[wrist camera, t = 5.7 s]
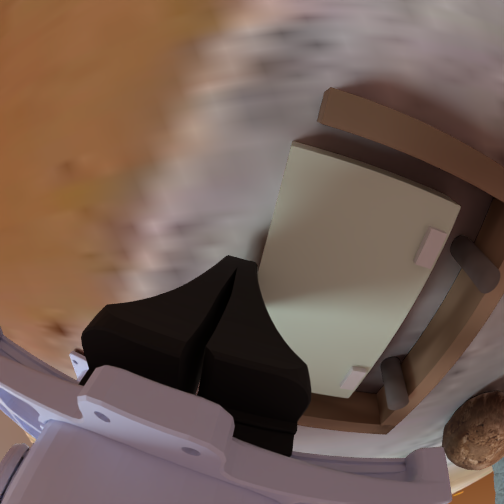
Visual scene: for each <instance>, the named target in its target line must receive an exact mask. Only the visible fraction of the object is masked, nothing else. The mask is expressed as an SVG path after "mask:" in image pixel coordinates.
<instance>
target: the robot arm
mask: <svg viewBox="0 0 504 504" xmlns="http://www.w3.org/2000/svg"><path fill="white" fill-rule="evenodd" d="M81 340H82V346H83V350H84V354H85V356H83V355H81V354H79V353H77V352H75V351H72V352H71V353H70V358H71V361H72V364H73V367H74V369H75V372H76V375H77V378H78V379H77V380H75V379H73V378H71V377H69V376H67V375H66V374H64V373H62V372H60V371H58V370H57V369H55V368H53V367H52V366H50V365H48V364H47V363H45V362H43V361H42V360H40V359H38V358H37V357H35V356H34V355H32V354H30V353H29V352H27V351H26V350H24V349H23V348H21V347H20V346H18V345H17V344H15V343H14V342H13V341H11V340H10V339H8V338H7V337H6V336H4V335H3V332H2V329H1V327H0V409H1V410H2V411H3V412H4V413H5V414H6V415H7V416H8V417H10V418H11V419H12V420H13V421H14V422H15V423H17V424H18V425H19V426H20V427H21V428H23V429H24V430H25V431H26V432H28V433H29V434H30V435H31V436H33V437H34V438H35V439H37V440H36V441H35V443H33V444H32V446H31V448H30V449H29V446H27V445H26V444H25V443H22V444H14V445H13V446H12V447H11V448H10V449H9V451H8V452H7V454H6V455H5V456H4V458H3V459H2V461H1V463H0V504H447V503H449V502H451V500H452V495H451V487H450V480H449V474H448V468H447V462H446V457H445V451H444V447H432V448H421V449H417V450H415V451H413V452H412V453H410V454H409V455H408V456H407V457H406V458H354V457H339V456H327V455H317V454H309V453H301V452H294V451H292V449H293V439H294V435H295V434H296V432H297V423H298V421H299V419H300V418H301V416H302V415H303V414H304V412H305V411H306V409H307V408H308V407H309V404H310V402H311V382H310V376H309V371H308V366H307V364H306V363H305V362H304V361H303V360H302V359H301V358H300V357H299V356H298V355H297V354H296V353H295V352H294V351H293V350H292V349H291V348H290V347H289V346H288V344H287V343H286V342H285V341H284V339H283V338H282V336H281V335H280V333H279V332H278V330H277V329H276V327H275V325H274V323H273V321H272V319H271V317H270V315H269V313H268V311H267V308H266V306H265V303H264V300H263V297H262V294H261V290H260V286H259V282H258V276H257V264H256V263H255V262H251V261H248V260H244V259H240V258H237V257H233V256H229V255H228V256H226V257H224V258H223V259H222V260H221V261H220V262H218V263H217V264H216V265H214V266H213V267H212V268H210V269H209V270H208V271H206V272H205V273H203V274H202V275H200V276H199V277H197V278H195V279H193V280H192V281H190V282H188V283H187V284H185V285H183V286H181V287H179V288H176V289H174V290H172V291H169V292H166V293H163V294H160V295H157V296H154V297H151V298H147V299H143V300H138V301H133V302H127V303H118V304H109V305H106V306H105V307H104V308H103V309H102V310H101V311H100V312H99V313H98V314H97V315H96V316H95V317H94V319H93V320H92V321H91V322H90V324H89V325H88V326H87V327H86V328H85V330H84V331H83V333H82V336H81ZM199 382H200V385H199ZM198 385H199V391H198V394H197V396H196V395H195V394H196V391H197V388H198Z"/></svg>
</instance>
